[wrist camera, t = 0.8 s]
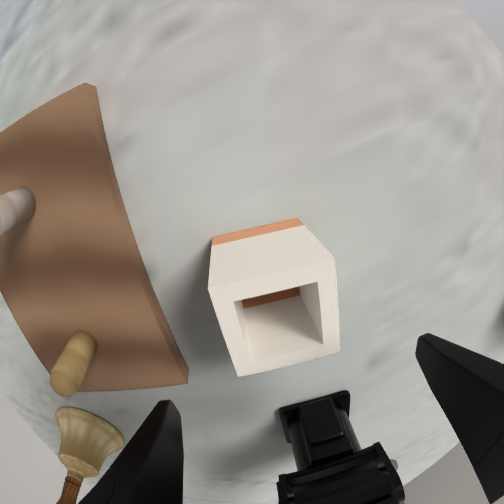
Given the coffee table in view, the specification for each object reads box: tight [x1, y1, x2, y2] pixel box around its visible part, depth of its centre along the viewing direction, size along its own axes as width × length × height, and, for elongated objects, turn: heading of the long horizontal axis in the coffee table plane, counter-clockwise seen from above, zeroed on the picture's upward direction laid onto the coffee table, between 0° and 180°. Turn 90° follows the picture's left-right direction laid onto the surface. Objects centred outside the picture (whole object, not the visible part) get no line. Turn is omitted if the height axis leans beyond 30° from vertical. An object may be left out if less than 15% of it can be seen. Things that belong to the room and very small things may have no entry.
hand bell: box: [56, 407, 124, 504], centre depth 16 cm, size 8×8×16 cm
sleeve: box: [208, 218, 340, 377], centre depth 15 cm, size 5×5×6 cm
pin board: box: [0, 83, 189, 397], centre depth 13 cm, size 20×12×6 cm, turn 12°
